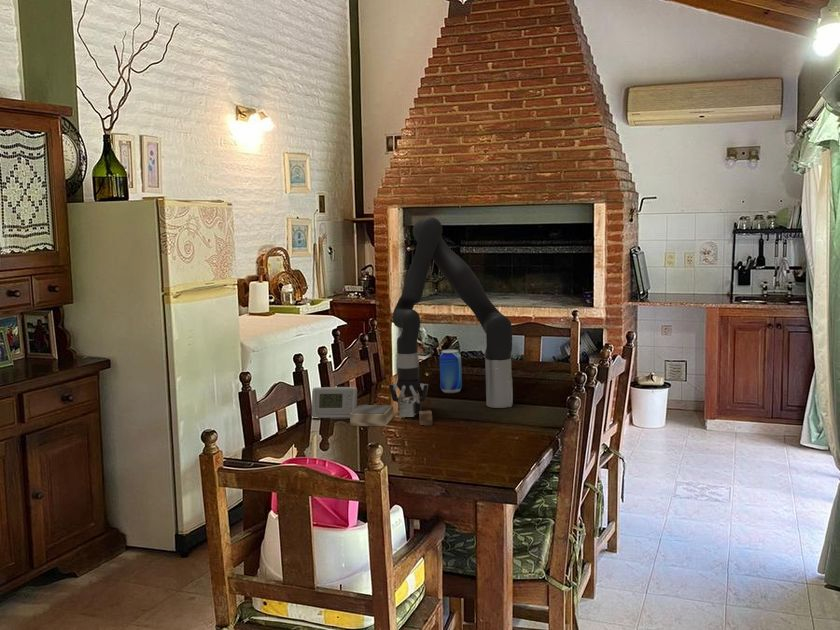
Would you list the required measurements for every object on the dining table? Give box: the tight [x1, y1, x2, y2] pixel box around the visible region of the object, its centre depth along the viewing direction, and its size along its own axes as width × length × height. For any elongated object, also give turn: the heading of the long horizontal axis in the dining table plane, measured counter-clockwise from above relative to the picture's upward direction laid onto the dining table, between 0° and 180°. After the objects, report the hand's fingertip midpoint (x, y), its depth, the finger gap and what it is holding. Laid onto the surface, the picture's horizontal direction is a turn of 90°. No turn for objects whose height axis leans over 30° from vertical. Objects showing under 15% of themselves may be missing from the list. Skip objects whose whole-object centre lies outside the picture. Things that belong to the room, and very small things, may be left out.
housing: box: [398, 396, 418, 418], centre depth 272 cm, size 5×9×6 cm, turn 164°
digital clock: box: [311, 386, 358, 420], centre depth 271 cm, size 16×9×11 cm, turn 72°
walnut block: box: [418, 410, 433, 426], centre depth 259 cm, size 4×4×4 cm
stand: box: [349, 404, 394, 427], centre depth 265 cm, size 12×12×4 cm
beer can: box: [439, 349, 463, 394], centre depth 305 cm, size 8×8×16 cm
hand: (409, 412), depth 272 cm, fingers closed on housing, 5 cm apart
